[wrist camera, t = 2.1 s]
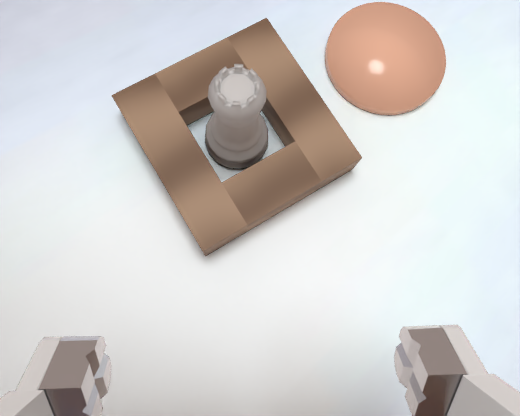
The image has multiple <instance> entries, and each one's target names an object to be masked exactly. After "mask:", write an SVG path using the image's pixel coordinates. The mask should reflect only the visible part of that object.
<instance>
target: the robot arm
mask: <svg viewBox="0 0 520 416" xmlns="http://www.w3.org/2000/svg"><path fill="white" fill-rule="evenodd" d="M399 338H400V340H401V344H399V345H398V346H397V347H396V350H395V355H394V362H395V370H396V374H397V377H398V380H399V382H400V383H401V384H402V385H404V386H405V387H406V388H407V391H406V394H405V398H406V401H407V404H408V406H409V409H410V412H411V414H412V416H520V392H519V391H517V390H516V389H514V388H513V387H512V386H510V385H509V384H507V383H506V382H505V381H503V380H502V379H500V378H499V377H497V376H496V375H495V374H488V372H487V371H486V369H485V367H484V366H483V364H482V362H481V361H480V359H479V357H478V356H477V354H476V352H475V351H474V349H473V347H472V345H471V344H470V342H469V340H468V339H467V337H466V335H465V334H464V332H463V330H462V329H461V327H459V326H458V325H439V326H437V325H432V326H409V327H403V328H402V329H401V331H400V334H399ZM105 348H106V343H105V340H104V337H101V336H87V337H44V338H43V339H42V340H41V341H40V342H39V344H38V346H37V348H36V350H35V352H34V354H33V356H32V358H31V360H30V362H29V364H28V366H27V368H26V370H25V372H24V374H23V376H22V378H21V380H20V382H19V384H18V386H17V388H16V390H15V391H9V392H8V393H7V394H5V395H4V396H3V397H2V398H0V416H101V413H102V409H103V407H102V403H101V400H100V399H101V398H102V397H103V396H104V395H105V394H106V393H107V392H108V388H109V384H110V378H111V362H110V358H109V356H108V355H106V354H105V353H104V351H105Z"/></svg>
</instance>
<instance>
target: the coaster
mask: <svg viewBox="0 0 520 416" xmlns="http://www.w3.org/2000/svg"><path fill="white" fill-rule="evenodd" d="M325 64H326V69H327V73H328V75H329V78H330V80H331V82H332V83H333V85H334V87H335V88H336V89H337V91H338V92H339V93H340V94H341V95H342V96H343V97H344V98H345V99H346V100H347V101H349V102H350V103H351V104H353V105H355V106H356V107H358V108H360V109H362V110H365V111H368V112H371V113H375V114H380V115H397V114H402V113H406V112H409V111H412V110H414V109H416V108H418V107H419V106H421V105H422V104H423V103H425V102H426V101H427V100H428V99H429V98H430V97H431V96H432V95H433V94H434V92H435V91H436V90H437V89H438V87H439V85H440V84H441V82H442V79H443V77H444V73H445V67H446V56H445V50H444V47H443V44H442V41H441V39H440V37H439V35H438V34H437V32H436V31H435V29H434V28H433V27H432V25H431V24H430V23H429V22H428V21H427V20H426V19H425V18H423V17H422V16H421V15H419V14H418V13H416V12H414V11H413V10H411V9H409V8H406V7H404V6H401V5H398V4H393V3H386V2H374V3H367V4H364V5H360V6H358V7H356V8H353V9H352V10H350V11H348V12H347V13H346V14H344V15H343V16H342V17H341V18H340V19H339V20H338V21H337V23H336V24H335V25H334V27H333V29H332V31H331V33H330V36H329V39H328V42H327V45H326V50H325Z"/></svg>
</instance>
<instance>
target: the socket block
mask: <svg viewBox="0 0 520 416" xmlns="http://www.w3.org/2000/svg"><path fill="white" fill-rule="evenodd" d="M234 64H243V68H246V69H248V70H250V69H251V68H252V69H253V70H254V71H255V72H256V73H257V74H258V76H259V77H260V78H261V79H262V80H263V83H264V85H265V88H266V90H267V92H266V102H265V104H264V106H263V108H262V111H263V113H264V114H265V116H266V117H267V119H268V120H269V122H270V123H271V125H272V126H273V128H274V130H275V131H276V133H277V134H278V136H279V137H280V139H281V140H282V142H283V143H284V145H285V146H286V147H284V148H282V149H281V150H279V151H277V152H275V153H273V154H272V155H270V156H268V157H266V158H265V159H263V160H261V161H259V162H257V163H256V164H254V165H252V166H250V167H249V168H247V169H245V170H243V171H241V172H240V173H238V174H236V175H234V176H233V177H231V178H229V179H227V180H225V181H224V182H222V183H221V181H220V179H219V178H218V176H217V174H216V173H215V171H214V169H213V168H212V166H211V165H210V163H209V161H208V160H207V158H206V156H205V155H204V153H203V151H202V150H201V148H200V147H199V145H198V143H197V142H196V140H195V138H194V137H193V135H192V133H191V132H190V130H189V129H188V127H187V125H189V124H190V123H192V122H194V121H196V120H198V119H200V118H202V117H204V116H206V115H207V114H209V113H211V112H213V111H214V109H213V108H212V107H211V104H210V101H209V99H208V89H209V85H210V83H211V81H212V79H213V78H214V77H215V76H216V75H217V74H218V73H219V71H220V70H221V69H223V68H224V67H225V66H226V68H227V69H229V68H232V67H234ZM112 97H113V99H114V101H115V102H116V104H117V106H118V107H119V109H120V111H121V113H122V114H123V116H124V118H125V119H126V121H127V123H128V125H129V126H130V128H131V130H132V131H133V133H134V135H135V137H136V138H137V140H138V142H139V143H140V145H141V147H142V148H143V150H144V152H145V154H146V155H147V157H148V159H149V160H150V162H151V164H152V166H153V167H154V169H155V171H156V172H157V174H158V176H159V178H160V179H161V181H162V183H163V184H164V186H165V188H166V190H167V191H168V193H169V195H170V196H171V198H172V200H173V202H174V203H175V205H176V207H177V208H178V210H179V212H180V214H181V215H182V217H183V219H184V220H185V222H186V224H187V225H188V227H189V229H190V231H191V232H192V234H193V236H194V237H195V239H196V241H197V243H198V244H199V246H200V248H201V249H202V251H203V253H204V255H205V256H207V255H208V254H210V253H212V252H213V251H215V250H217V249H219V248H220V247H222V246H224V245H225V244H227V243H229V242H230V241H232V240H234V239H235V238H237V237H239V236H240V235H242V234H244V233H246V232H247V231H249V230H251V229H252V228H254V227H256V226H257V225H259V224H261V223H262V222H264V221H266V220H268V219H269V218H271V217H273V216H274V215H276V214H278V213H279V212H281V211H283V210H284V209H286V208H288V207H290V206H291V205H293V204H295V203H296V202H298V201H300V200H301V199H303V198H305V197H306V196H308V195H310V194H311V193H313V192H315V191H317V190H318V189H320V188H322V187H323V186H325V185H327V184H328V183H330V182H332V181H333V180H335V179H337V178H339V177H340V176H342V175H344V174H345V173H347V172H349V171H350V170H352V169H353V168H354V167H355V165H356V164H357V163H358V162H359V161H360V160H361V158H362V157H361V155H360V154H359V152H358V151H357V149H356V148H355V146H354V145H353V144H352V142H351V141H350V139H349V138H348V136H347V135H346V133H345V132H344V130H343V129H342V127H341V126H340V125H339V123H338V122H337V120H336V119H335V117H334V116H333V114H332V113H331V111H330V110H329V108H328V107H327V105H326V104H325V103H324V101H323V100H322V98H321V97H320V95H319V94H318V92H317V91H316V89H315V88H314V86H313V85H312V84H311V82H310V81H309V79H308V78H307V76H306V75H305V73H304V72H303V70H302V69H301V67H300V66H299V64H298V63H297V62H296V60H295V59H294V57H293V56H292V54H291V53H290V51H289V50H288V48H287V47H286V45H285V44H284V43H283V41H282V40H281V38H280V37H279V35H278V34H277V32H276V31H275V29H274V28H273V26H272V25H271V23H270V22H269V21H268V19H267V18H265V19H263V20H261V21H259V22H257V23H255V24H253V25H251V26H249V27H247V28H245V29H243V30H241V31H239V32H237V33H235V34H233V35H231V36H229V37H227V38H225V39H223V40H221V41H219V42H217V43H215V44H213V45H211V46H209V47H207V48H205V49H203V50H201V51H199V52H197V53H195V54H193V55H191V56H189V57H187V58H185V59H183V60H181V61H179V62H177V63H175V64H173V65H171V66H169V67H167V68H165V69H163V70H161V71H159V72H157V73H155V74H153V75H151V76H149V77H147V78H145V79H143V80H141V81H139V82H137V83H135V84H133V85H131V86H129V87H127V88H125V89H123V90H121V91H119V92H117V93H115V94H113V95H112Z"/></svg>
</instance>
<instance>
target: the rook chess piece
mask: <svg viewBox="0 0 520 416" xmlns="http://www.w3.org/2000/svg"><path fill="white" fill-rule="evenodd" d="M266 92H267V90H266V88H265V85H264V83H263V80H262V79H261V78H260V77H259V76H258V74H257V73H256V72H255V71H254V70H253V69H252V68H251V69H250V70H248V69H246V68H243V64H234V67H232V68H229V69H227V68H226V66H225V67H224V68H223V69H221V70H220V71H219V73H218V74H217V75H216V76H215V77H214V78H213V79H212V81H211V83H210V85H209V89H208V99H209V101H210V104H211V107H212V108H213V109H214V113H213V114H212V116H211V118H210V120H209V121H208V123H207V125H206V134H205V143H206V146H207V149H208V152H209V154H210V155H211V156H212V157H213V158H214V159H215V160H216V162H217V163H220V164H222V165H224V166H226V167H228V168H244V167H247V166H250V165H253V164H254V163H256V162H257V161H258V160H259V159H260V158H262V156H263V154H264V152H265V150H266V148H267V146H268V129H267V126H266V123H265V121H264V118H263V117H262V116H261V115H260V112H261V110H262V108H263V106H264V104H265V102H266Z"/></svg>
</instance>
